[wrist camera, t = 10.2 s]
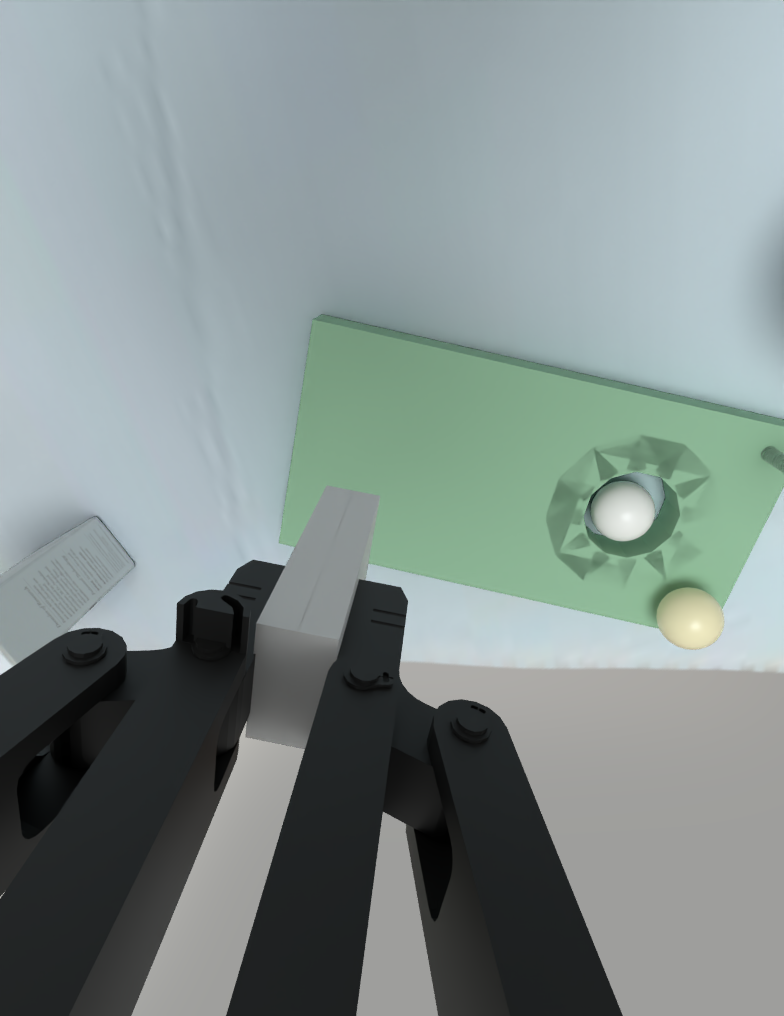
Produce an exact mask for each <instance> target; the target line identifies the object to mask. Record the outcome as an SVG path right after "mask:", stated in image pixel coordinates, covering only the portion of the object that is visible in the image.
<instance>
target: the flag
mask: <svg viewBox="0 0 784 1016" xmlns="http://www.w3.org/2000/svg"><path fill="white" fill-rule="evenodd" d="M761 458H762V459H763V460H764V461H766V462H767V463H769V464H770V465H772V466H773V467H775V468H776V469H778V470H779V471H780V472H782V473H783V474H784V453H783V452H781V451H780V450H778V449H776V448H775V447H772V446H769V447H766V448H765V449H763V451H762V452H761Z"/></svg>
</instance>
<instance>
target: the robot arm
mask: <svg viewBox="0 0 784 1016" xmlns="http://www.w3.org/2000/svg"><path fill="white" fill-rule="evenodd" d="M379 501H380V496H378V495H373V494H368V493H363V492H358V491H353V490H348V489H343V488H338V487H332V486H326V488H325V490H324V492H323V494H322V496H321V497H320V499H319V501H318V503H317V505H316V507H315V509H314V511H313V513H312V515H311V517H310V519H309V521H308V523H307V525H306V527H305V529H304V531H303V533H302V535H301V537H300V539H299V541H298V543H297V544H296V546H295V548H294V550H293V552H292V554H291V556H290V558H289V560H288V562H287V564H286V566H282V565H277V564H272V563H267V562H262V561H257V560H252V561H250V562H248V563H247V564H245V565H243V566H242V567H240V568H238V569H237V570H236V572H235V573H234V575H233V577H232V578H231V580H230V581H229V584H227V586H226V587H225V589H224V590H223V591H221V590H205V591H198V592H195V593H192V594H190V595H187V596H185V597H184V598H183V599H181V600H180V601H179V602H178V603H177V621H176V641H175V643H174V644H173V646H172V647H170V648H166V649H161V650H150V651H127V645H126V643H125V642H124V640H123V638H122V637H121V636H119V635H118V634H116V633H115V632H113V631H109V630H105V629H101V628H84V629H79V630H75V631H71V632H67V633H65V634H63V635H61V636H59V637H57V638H55V639H53V640H52V641H50V642H49V643H47V644H46V645H44V646H43V647H41V648H40V649H38V650H37V651H35V652H34V653H32V654H31V655H29V656H28V657H26V658H25V659H23V660H22V661H20V662H19V663H17V664H16V665H14V666H13V667H11V668H10V669H8V670H7V671H5V672H4V673H2V674H1V675H0V896H1V895H2V894H3V893H4V892H5V893H4V894H3V896H2V897H1V899H0V1016H131V1015H132V1012H133V1010H134V1008H135V1005H136V1003H137V1000H138V998H139V995H140V993H141V990H142V988H143V986H144V983H145V981H146V978H147V976H148V973H149V971H150V969H151V966H152V964H153V961H154V959H155V956H156V954H157V951H158V949H159V947H160V944H161V942H162V940H163V937H164V935H165V932H166V930H167V927H168V925H169V923H170V920H171V918H172V915H173V913H174V910H175V908H176V906H177V903H178V901H179V898H180V896H181V893H182V891H183V889H184V886H185V884H186V881H187V879H188V876H189V874H190V871H191V869H192V867H193V864H194V862H195V859H196V857H197V855H198V852H199V850H200V847H201V845H202V842H203V840H204V838H205V835H206V833H207V830H208V828H209V826H210V823H211V821H212V818H213V816H214V813H215V811H216V808H217V806H218V804H219V801H220V799H221V796H222V794H223V792H224V789H225V786H226V784H227V782H228V779H229V777H230V774H231V772H232V770H233V767H234V765H235V762H236V760H237V755H238V747H239V737H240V735H241V733H242V730H243V728H244V725H245V723H246V721H247V726H246V737H247V738H253V739H257V740H262V741H267V742H272V743H277V744H282V745H287V746H292V747H297V748H302V749H305V751H304V755H303V758H302V761H301V765H300V768H299V772H298V775H297V778H296V782H295V785H294V789H293V792H292V795H291V799H290V803H289V806H288V809H287V812H286V816H285V819H284V822H283V825H282V829H281V832H280V836H279V839H278V842H277V846H276V849H275V853H274V856H273V859H272V863H271V866H270V869H269V873H268V876H267V880H266V883H265V886H264V890H263V893H262V897H261V900H260V903H259V907H258V910H257V913H256V917H255V920H254V924H253V927H252V930H251V934H250V937H249V940H248V944H247V947H246V951H245V954H244V957H243V961H242V964H241V967H240V971H239V974H238V978H237V981H236V984H235V988H234V991H233V994H232V998H231V1001H230V1005H229V1008H228V1012H227V1015H226V1016H356V1011H357V1004H358V997H359V989H360V981H361V974H362V966H363V958H364V950H365V943H366V935H367V928H368V920H369V912H370V905H371V896H372V889H373V882H374V874H375V866H376V859H377V851H378V843H379V836H380V828H381V820H382V813H383V812H385V813H387V814H389V815H391V816H392V817H394V818H396V819H398V820H400V821H402V822H404V823H405V824H406V834H407V840H408V845H409V851H410V857H411V863H412V869H413V874H414V880H415V885H416V891H417V897H418V903H419V908H420V914H421V920H422V925H423V931H424V937H425V942H426V948H427V954H428V959H429V965H430V971H431V977H432V982H433V988H434V994H435V999H436V1005H437V1011H438V1016H623V1015H622V1013H621V1010H620V1008H619V1005H618V1003H617V1000H616V998H615V995H614V993H613V990H612V988H611V986H610V983H609V981H608V978H607V976H606V973H605V971H604V968H603V966H602V963H601V961H600V958H599V956H598V953H597V951H596V948H595V946H594V943H593V941H592V938H591V936H590V934H589V931H588V928H587V926H586V923H585V921H584V918H583V916H582V913H581V911H580V909H579V906H578V904H577V901H576V899H575V896H574V894H573V891H572V889H571V886H570V884H569V881H568V879H567V876H566V874H565V871H564V869H563V866H562V864H561V861H560V859H559V856H558V854H557V851H556V849H555V846H554V844H553V841H552V839H551V837H550V834H549V831H548V829H547V826H546V824H545V821H544V819H543V816H542V814H541V812H540V809H539V807H538V804H537V802H536V799H535V796H534V794H533V792H532V789H531V787H530V784H529V782H528V779H527V777H526V774H525V772H524V769H523V767H522V764H521V762H520V759H519V757H518V754H517V752H516V750H515V747H514V744H513V742H512V739H511V737H510V734H509V732H508V729H507V727H506V726H505V724H504V723H503V721H502V720H501V718H500V717H499V716H498V715H497V714H495V713H494V712H493V711H492V710H491V709H489V708H488V707H485V706H484V705H481V704H479V703H477V702H473V701H468V700H453V701H448V702H446V703H444V704H443V705H441V706H439V707H438V709H435V708H433V707H431V706H429V705H427V704H425V703H423V702H421V701H420V700H417V699H416V698H415V697H413V696H412V695H411V694H410V693H409V692H408V691H407V690H406V688H405V687H404V686H403V684H402V682H401V680H400V677H399V666H400V659H401V651H402V644H403V636H404V628H405V621H406V613H407V605H408V600H407V598H406V596H405V594H404V593H403V591H402V589H401V587H396V586H391V585H386V584H381V583H376V582H371V581H366V580H365V579H366V574H367V568H368V562H369V557H370V551H371V546H372V540H373V534H374V529H375V523H376V518H377V512H378V506H379Z"/></svg>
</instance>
